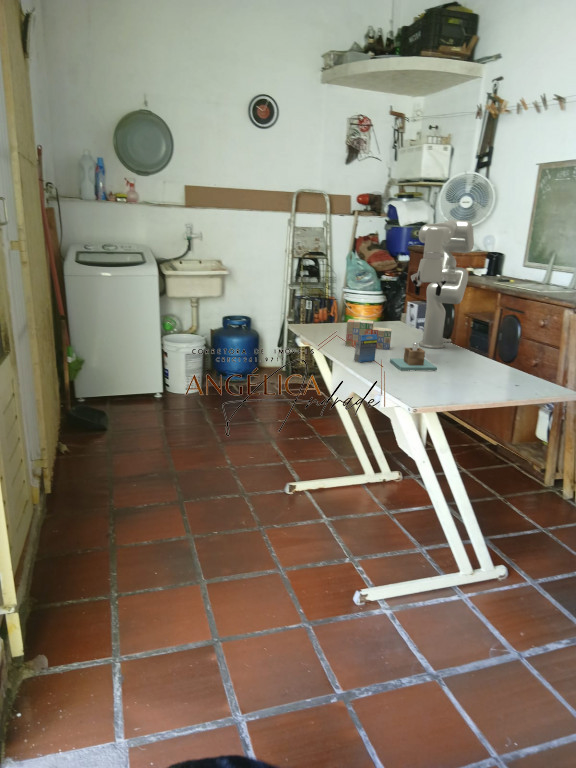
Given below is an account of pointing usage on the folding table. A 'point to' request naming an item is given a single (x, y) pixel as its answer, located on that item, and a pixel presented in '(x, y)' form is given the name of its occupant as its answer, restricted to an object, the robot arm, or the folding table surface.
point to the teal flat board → (405, 367)
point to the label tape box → (366, 348)
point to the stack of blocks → (367, 333)
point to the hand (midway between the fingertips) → (427, 295)
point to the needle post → (414, 347)
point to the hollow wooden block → (414, 356)
